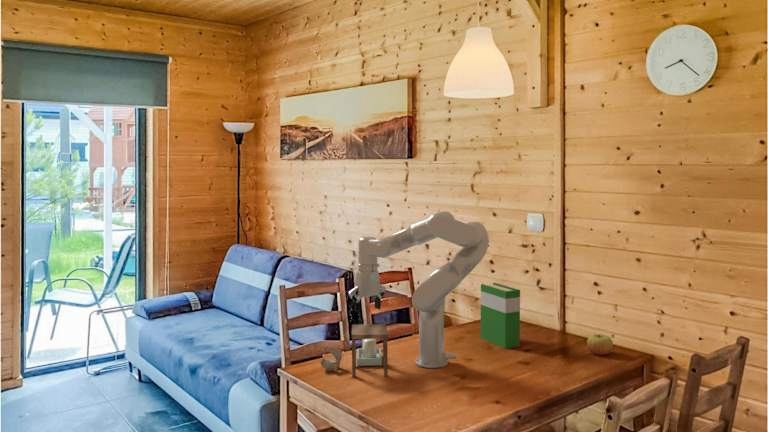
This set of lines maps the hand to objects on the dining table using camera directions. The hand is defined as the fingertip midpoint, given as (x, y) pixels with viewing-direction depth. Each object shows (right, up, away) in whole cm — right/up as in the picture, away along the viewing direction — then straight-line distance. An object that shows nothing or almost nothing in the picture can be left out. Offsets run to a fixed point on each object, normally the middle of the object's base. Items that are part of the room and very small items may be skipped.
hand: (367, 310), depth 247 cm
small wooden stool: (+1, -20, -17) cm, 26 cm away
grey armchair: (+1, -18, 0) cm, 18 cm away
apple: (+94, -18, +2) cm, 95 cm away
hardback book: (+56, -17, +19) cm, 62 cm away
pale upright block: (+1, -18, -5) cm, 19 cm away
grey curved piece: (-13, -21, -16) cm, 29 cm away
